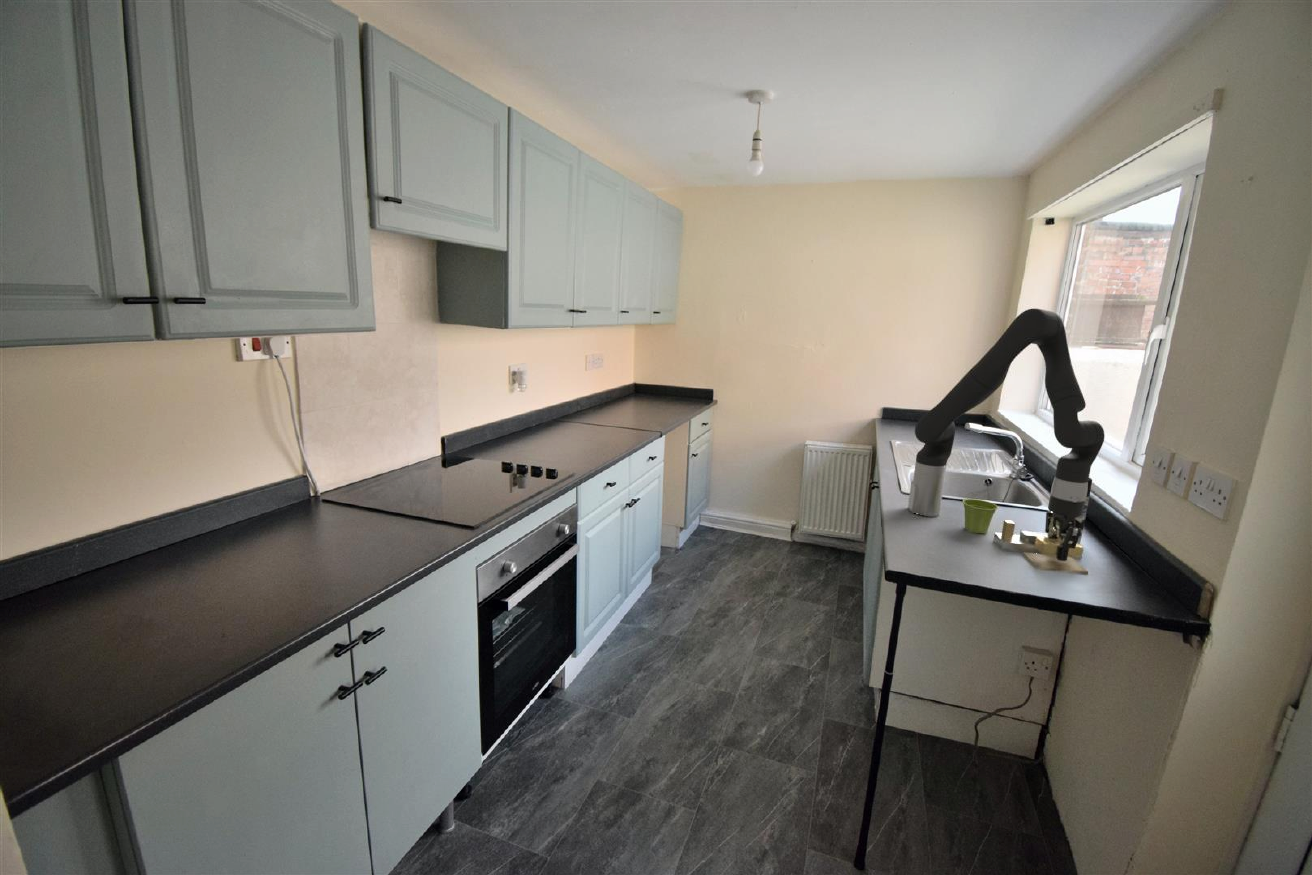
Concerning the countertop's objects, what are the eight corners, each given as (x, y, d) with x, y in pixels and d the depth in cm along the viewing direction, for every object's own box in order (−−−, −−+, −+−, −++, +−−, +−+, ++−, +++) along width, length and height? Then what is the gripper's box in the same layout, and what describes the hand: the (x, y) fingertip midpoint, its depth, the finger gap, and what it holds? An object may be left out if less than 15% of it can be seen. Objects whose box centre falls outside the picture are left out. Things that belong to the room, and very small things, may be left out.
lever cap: (1042, 554, 149) (1045, 541, 148) (1034, 546, 154) (1036, 534, 153) (1080, 558, 147) (1083, 545, 146) (1071, 550, 152) (1074, 537, 151)
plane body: (1002, 550, 159) (1006, 525, 158) (993, 540, 166) (997, 516, 164) (1081, 558, 155) (1086, 532, 154) (1069, 547, 162) (1074, 523, 160)
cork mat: (1036, 568, 148) (1037, 566, 148) (1022, 554, 157) (1023, 552, 156) (1087, 574, 146) (1088, 571, 145) (1070, 559, 154) (1071, 557, 154)
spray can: (1072, 547, 163) (1085, 481, 158) (1047, 538, 168) (1059, 475, 164) (1084, 543, 166) (1098, 478, 161) (1059, 535, 171) (1072, 472, 167)
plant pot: (964, 522, 180) (968, 496, 178) (997, 530, 174) (1001, 504, 172) (954, 529, 174) (958, 503, 172) (987, 538, 167) (992, 511, 165)
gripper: (1039, 486, 154) (1029, 543, 158) (1065, 503, 141) (1053, 565, 144) (1070, 488, 153) (1059, 546, 157) (1099, 505, 139) (1086, 569, 143)
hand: (1056, 555), depth 151 cm, fingers closed on lever cap, 5 cm apart
